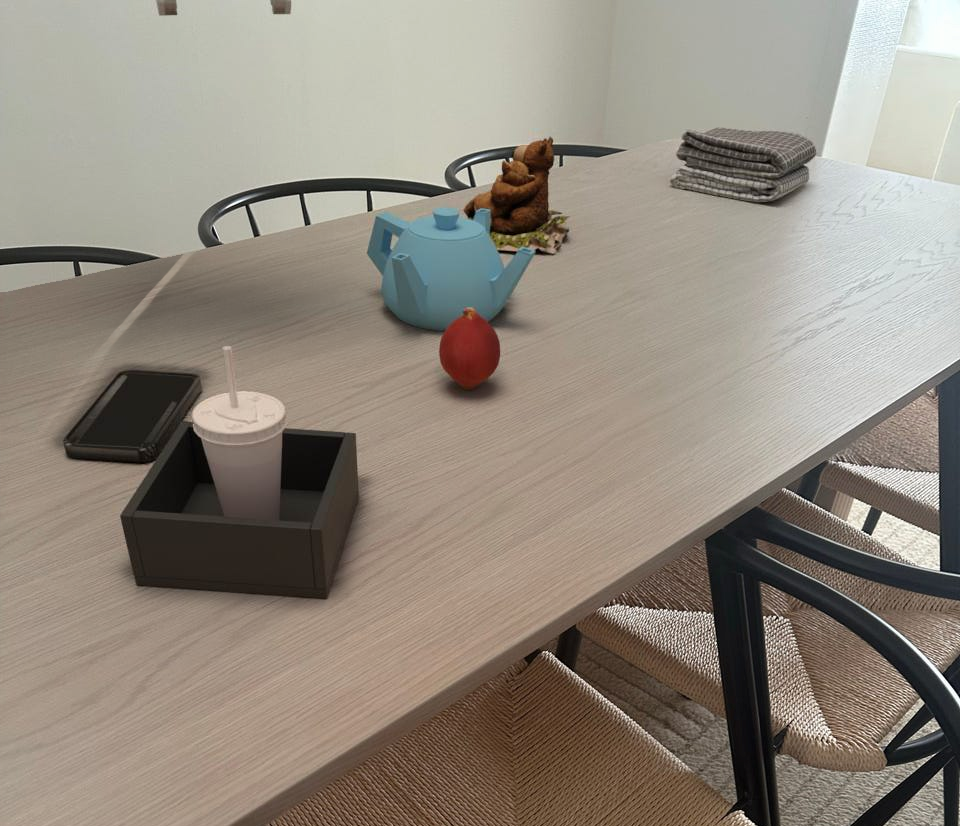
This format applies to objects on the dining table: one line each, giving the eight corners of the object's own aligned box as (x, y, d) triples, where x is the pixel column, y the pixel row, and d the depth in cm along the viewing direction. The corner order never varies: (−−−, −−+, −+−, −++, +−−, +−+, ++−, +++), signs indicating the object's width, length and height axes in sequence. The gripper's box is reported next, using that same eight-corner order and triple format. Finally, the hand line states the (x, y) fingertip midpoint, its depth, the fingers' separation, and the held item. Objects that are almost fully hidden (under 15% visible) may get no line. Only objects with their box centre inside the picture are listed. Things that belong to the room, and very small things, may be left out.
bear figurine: (475, 214, 138) (478, 118, 130) (578, 230, 134) (588, 131, 126) (439, 244, 128) (440, 141, 120) (551, 261, 124) (559, 156, 116)
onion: (451, 370, 98) (453, 291, 93) (506, 381, 97) (510, 300, 92) (430, 394, 94) (430, 312, 89) (487, 405, 93) (490, 323, 88)
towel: (778, 208, 145) (791, 151, 140) (663, 186, 152) (672, 130, 147) (810, 186, 155) (823, 131, 150) (701, 165, 162) (710, 112, 157)
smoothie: (269, 497, 78) (250, 324, 69) (313, 534, 74) (298, 355, 65) (194, 524, 74) (163, 345, 65) (236, 563, 71) (210, 380, 62)
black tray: (135, 585, 69) (119, 515, 66) (192, 485, 80) (181, 420, 76) (327, 599, 69) (321, 529, 65) (359, 497, 80) (355, 432, 76)
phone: (58, 445, 82) (122, 368, 93) (61, 457, 82) (124, 379, 94) (151, 451, 81) (204, 373, 93) (154, 463, 82) (206, 384, 94)
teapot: (491, 281, 118) (495, 185, 111) (532, 330, 107) (540, 227, 100) (365, 291, 114) (361, 192, 107) (395, 342, 103) (393, 236, 96)
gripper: (58, -184, 77) (90, -18, 77) (316, -173, 83) (349, -19, 82) (69, -116, 83) (100, 38, 83) (309, -110, 89) (339, 34, 88)
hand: (226, 10), depth 82 cm, fingers open, 8 cm apart
